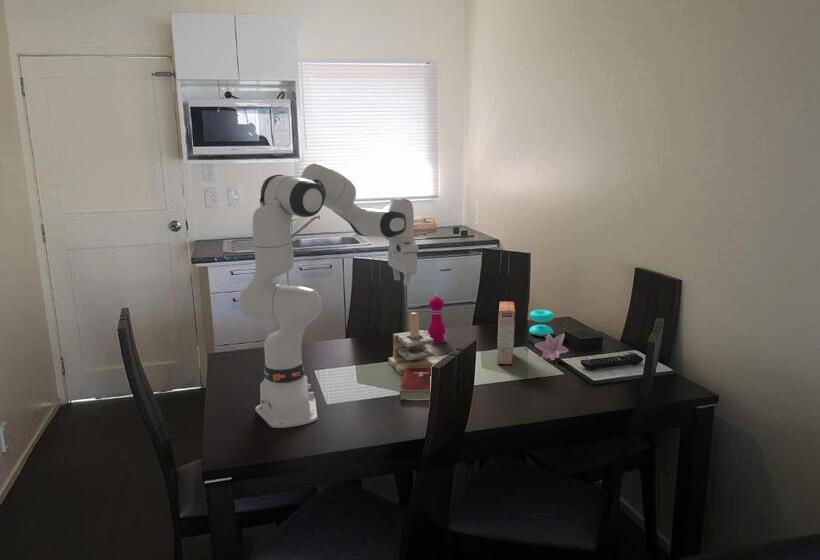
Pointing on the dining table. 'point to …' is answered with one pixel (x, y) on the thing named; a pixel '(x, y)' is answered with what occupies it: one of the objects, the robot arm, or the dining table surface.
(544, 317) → the donuts
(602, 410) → the dining table surface
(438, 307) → the pepper mill
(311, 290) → the robot arm
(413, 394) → the hardcover book
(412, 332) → the copper tube
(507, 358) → the cracker box
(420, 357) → the collar stand
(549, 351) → the lily
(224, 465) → the dining table surface
